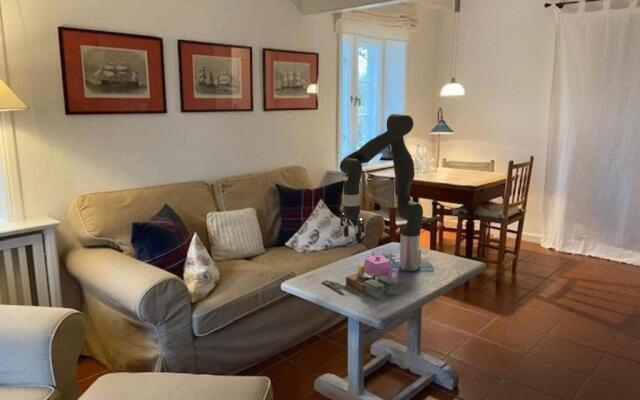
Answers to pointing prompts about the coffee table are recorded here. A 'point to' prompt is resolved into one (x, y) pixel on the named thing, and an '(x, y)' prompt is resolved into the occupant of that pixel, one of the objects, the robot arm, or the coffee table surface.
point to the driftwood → (338, 287)
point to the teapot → (378, 266)
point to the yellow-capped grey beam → (362, 272)
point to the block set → (373, 286)
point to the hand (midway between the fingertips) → (352, 238)
